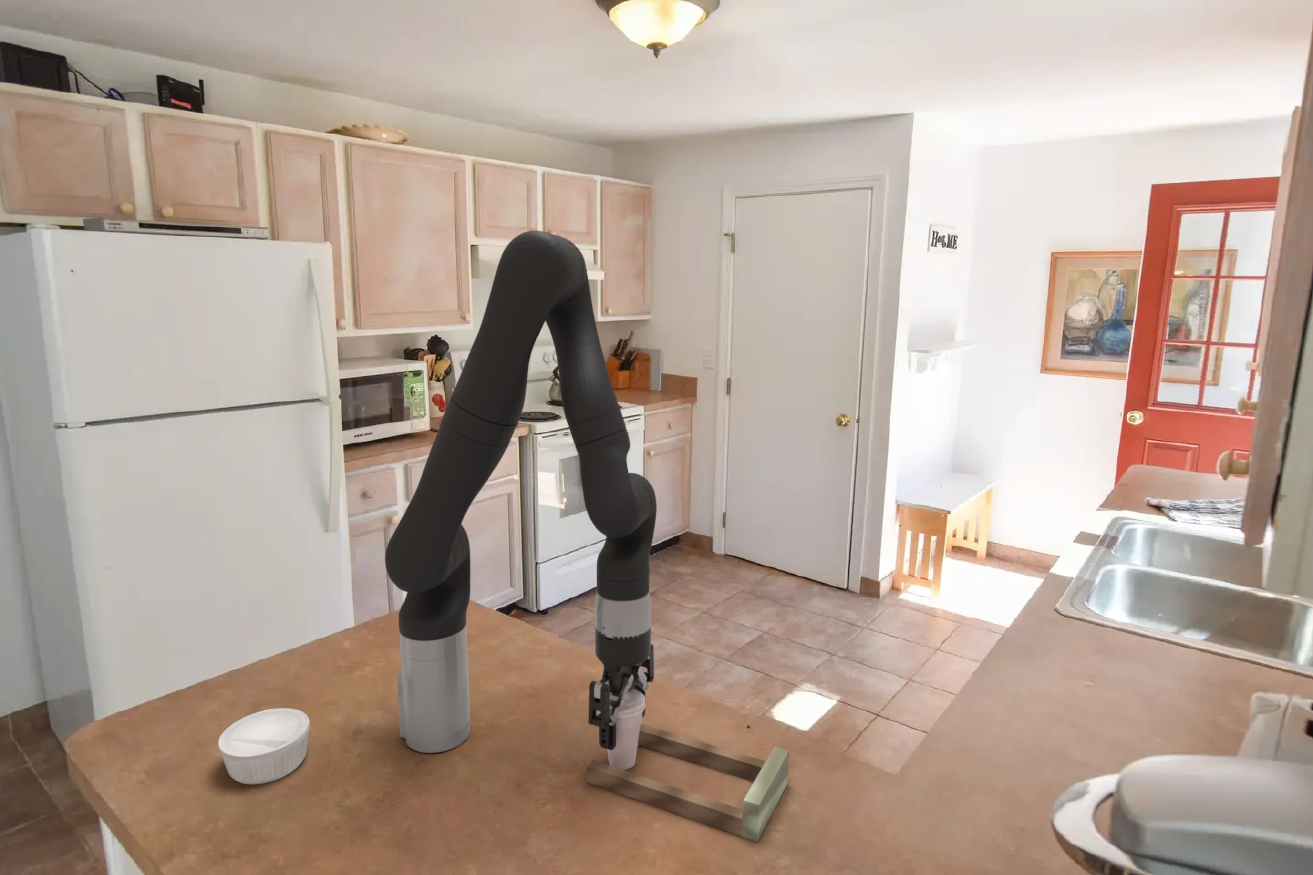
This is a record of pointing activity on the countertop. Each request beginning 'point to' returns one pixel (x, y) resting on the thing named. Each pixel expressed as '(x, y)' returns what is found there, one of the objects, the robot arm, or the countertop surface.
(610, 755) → the smoothie
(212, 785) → the countertop surface
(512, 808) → the countertop surface
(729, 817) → the guide channel
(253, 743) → the ramekin
